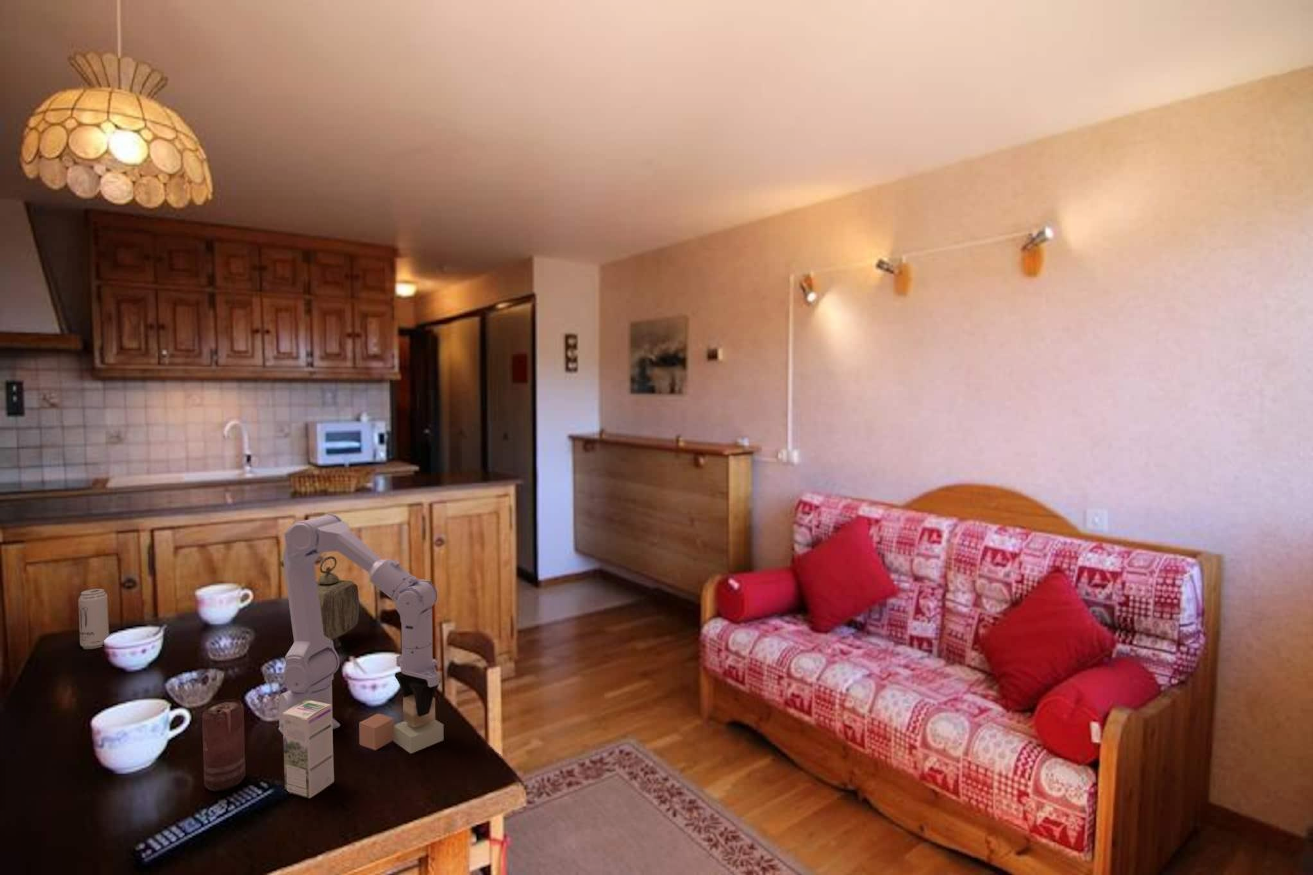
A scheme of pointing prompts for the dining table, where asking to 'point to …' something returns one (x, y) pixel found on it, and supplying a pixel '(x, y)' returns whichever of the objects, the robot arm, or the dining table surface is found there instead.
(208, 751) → the can
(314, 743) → the syrup box
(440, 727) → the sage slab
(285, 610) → the dining table surface
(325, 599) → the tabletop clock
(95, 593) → the energy drink can
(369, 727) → the terracotta cube
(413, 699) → the maple cube
